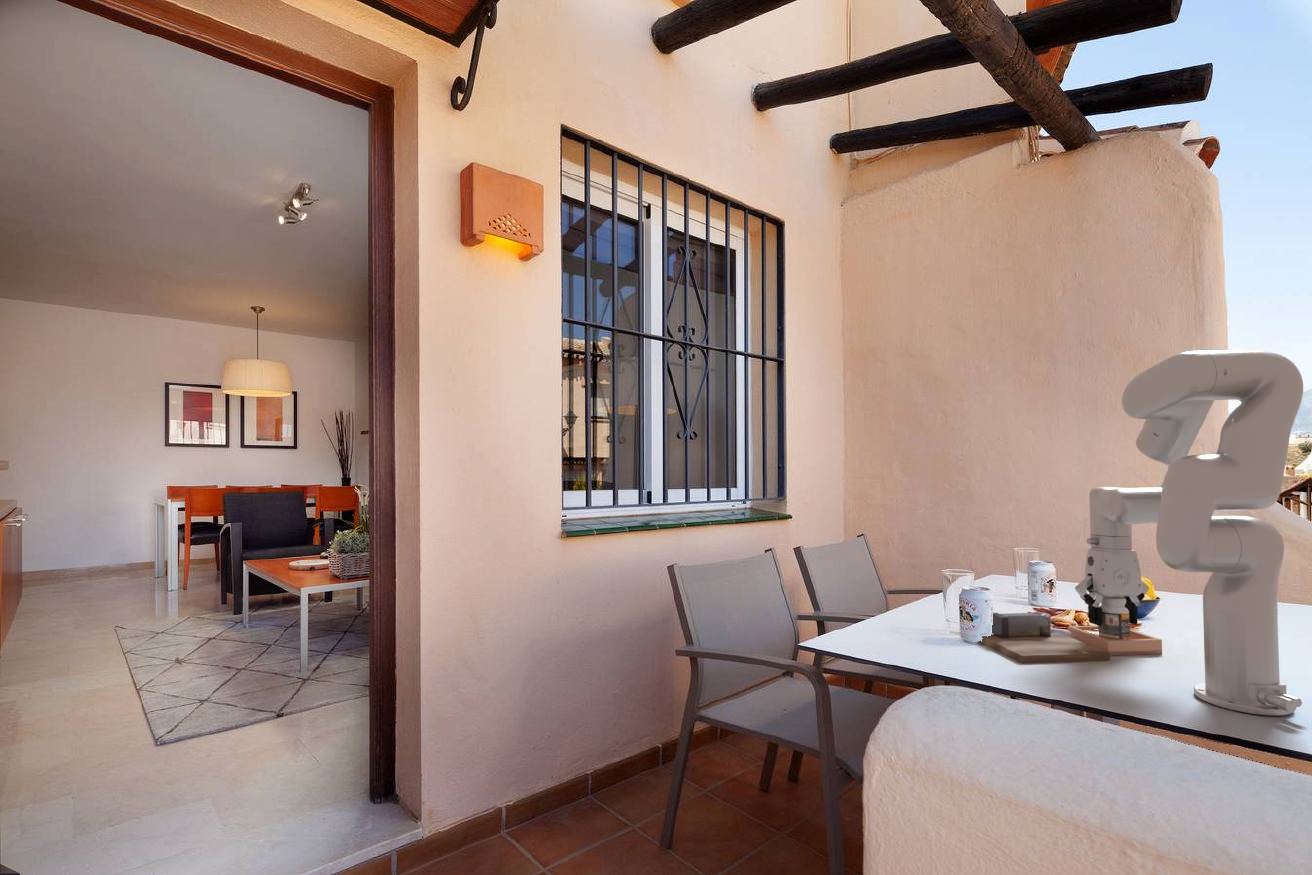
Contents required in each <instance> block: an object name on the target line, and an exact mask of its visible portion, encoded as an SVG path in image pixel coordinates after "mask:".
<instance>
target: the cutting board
mask: <svg viewBox="0 0 1312 875" xmlns="http://www.w3.org/2000/svg"><path fill="white" fill-rule="evenodd" d="M990 634H991V636H988V637H987V636H982V638H983V639H982V643H981V644H984V646H987V647H988V648H991V649H992V650H994V651H997V652H999V653H1001V654H1003V655H1005V656H1006V657H1009V658H1011V659H1013V660H1015V661H1016V662H1019V663H1021V664H1030V663H1032V664H1034V663H1035V664H1037V663H1039V664H1040V663H1041V664H1042V663H1043V664H1044V663H1069V662H1071V663H1073V662H1076V663H1077V662H1100V661H1101V662H1102V661H1103V662H1104V661H1105V662H1106V661H1111V656H1110V653H1109V652H1106V651H1104V650H1101V649H1099V648H1096V647H1094V646H1091V645H1089V644H1086V643H1084V642H1081V641H1078V640H1076V639H1073V638H1071V637H1068V635H1065V634H1063V633H1061V632H1051V636H1009V638H1001V637H999V636H997V635H994V634H992V633H990Z"/></svg>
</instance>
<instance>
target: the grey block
mask: <svg viewBox="0 0 1312 875" xmlns="http://www.w3.org/2000/svg"><path fill="white" fill-rule="evenodd" d="M992 613H993V625H992V633H991V634H994V635H997V636H999V637H1001V638H1009V636H1051V633H1052V619H1051V618H1052V615H1051V614H1050V613H1047V612H1044V611H1043V612H1042V611H1041V612H1039V611H1036V612H1035V611H1033V612H1018V613H1017V612H1014V613H1008V612H1007V613H999V612H992Z"/></svg>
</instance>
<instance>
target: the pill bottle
mask: <svg viewBox="0 0 1312 875" xmlns="http://www.w3.org/2000/svg"><path fill="white" fill-rule="evenodd" d="M1100 604H1101V605H1099V607H1101V608H1102V625H1101V626H1098V630H1099V636H1100V637H1103V638H1105V639H1108V640H1120V639H1130V629H1131V624H1130V619H1129V611H1128V609H1127V608H1125V604H1126V599H1125V598H1124V597H1123V596H1121V597H1105V596H1104V597H1103V599H1102V601H1101V603H1100Z"/></svg>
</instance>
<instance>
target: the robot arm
mask: <svg viewBox="0 0 1312 875" xmlns="http://www.w3.org/2000/svg"><path fill="white" fill-rule="evenodd" d="M1303 381H1304V380H1303V377H1302V374H1301V372H1300V370H1299V368H1298V367H1297V366H1296V365H1295V363H1294V362H1293V361H1292V360H1290V359H1289V358H1287V357H1286V356H1284V355H1282V354H1278V353H1276V352H1272V351H1271V352H1270V351H1264V350H1250V349H1242V350H1241V349H1231V350H1230V349H1229V350H1226V349H1225V350H1190V351H1189V350H1188V351H1185V352H1180V353H1175V354H1173V355H1171V356H1169V357H1168V358H1165V359H1163V360H1162V361H1160V362H1158V363H1156V364H1155V365H1153V366H1151V367H1149V368H1147V369H1145V370H1144V371H1142V372H1140V373H1139V374H1136V376H1134V377H1133V378H1132V379H1131V380H1130V381H1129V383H1127V385H1126V387H1125V388H1124V391H1123V392H1122V397H1121V406H1122V409H1123V411H1124V413H1125V414H1126V415H1127V416H1129V417H1131V418H1132V419H1137V420H1144V422H1143V425H1142V427H1141V428H1140V429H1141V430H1140V431H1139V432H1138V436H1137V437H1136V440H1135V446H1136V448H1137V450H1138V451H1139V452H1140V453H1142V454H1143V455H1144V456H1146V457H1147V458H1150V459H1152V460H1153V461H1155V462H1158V463H1161V464H1163V465H1166V466H1167V471H1166V473H1165V475H1164V478H1163V481H1162V483H1161V485H1160V487H1118V486H1096V487H1092V488H1091V490H1090V491H1089V526H1090V527H1089V529H1090V530H1089V532H1090V533H1089V535H1090V536H1089V537H1087V539H1086V544H1088V545H1090V548H1088V550H1087V554H1086V558H1085V567H1084V568H1085V570H1084V572H1085V573H1084V579H1083V580H1082V581H1081V582H1079V583H1078V584H1077V585H1075V587H1074V590H1075V592H1077V594H1078V595H1079V597H1080V599H1081V600H1082V601H1084V604H1086V605H1087V616H1088V622H1089V623H1091V624H1093V625H1094V626H1097V625H1098V626H1101V625H1102V608H1101V607H1099V606H1101V605H1100V604H1101V601H1102V599H1103V597H1104V596H1105V597H1124V598H1125V599H1126V604H1125V608H1127V609H1128V611H1129V619H1130V625H1135V626H1136V625H1138V607H1140V606H1141V602H1142V600H1144V599H1145V596H1146V594H1147V593H1148V591H1149V589H1150V586H1149V585H1148V584H1147V583H1146V582H1144V580H1143V581H1142V573H1141V566H1140V561H1139V558H1138V554H1137V551H1136V550H1135V549H1133V542H1132V541H1133V537H1132V525H1141V524H1148V525H1149V524H1156V525H1157V527H1156V538H1155V539H1156V540H1155V541H1156V542H1155V544H1156V549H1157V553H1158V555H1159V557H1160V559H1161V561H1162V562H1163V563H1164V564H1165V565H1166V566H1168V568H1171V569H1172V570H1174V571H1175V570H1176V571H1178V572H1185V573H1211V574H1210V576H1209V578H1208V580H1207V581H1206V583H1205V585H1204V590H1203V593H1202V614H1203V615H1202V616H1203V618H1202V619H1203V647H1204V648H1203V650H1204V651H1203V652H1204V680H1205V681H1204V682H1199V683H1197V684H1195V685H1194V686H1193V693H1194V695H1195V696H1196V697H1197V698H1199V699H1201V700H1202V701H1204V702H1207V703H1209V704H1212V705H1214V706H1217V707H1220V708H1224V709H1228V710H1231V711H1236V712H1240V713H1244V714H1245V713H1247V714H1251V715H1252V714H1253V715H1261V716H1274V717H1275V716H1278V717H1279V716H1280V717H1281V716H1287V715H1290V714H1293V712H1295V711H1296V710H1297V708H1300V707H1301V706H1302V704H1303V701H1302V699H1301V698H1298V697H1297V696H1296V697H1295V696H1293V695H1289V694H1287V684H1285V683H1282V682H1281V681H1280V655H1279V651H1280V650H1279V649H1280V648H1279V624H1278V623H1279V621H1278V620H1279V618H1278V615H1279V613H1278V610H1279V609H1278V590H1279V589H1278V587H1279V577H1280V572H1281V568H1282V565H1283V560H1284V554H1285V543H1284V539H1283V536H1282V535H1281V533H1280V531H1279V529H1277V528H1276V527H1275V526H1274V525H1272V524H1271V523H1270V522H1267V521H1266V520H1263V519H1260V518H1257V517H1252V516H1246V515H1214V512H1224V511H1225V512H1229V511H1232V512H1233V511H1234V512H1235V511H1259V510H1265V509H1268V508H1270V507H1272V506H1274V504H1276V502H1277V501H1278V499H1279V497H1280V494H1281V491H1282V486H1283V483H1284V482H1283V481H1284V476H1285V475H1284V474H1285V469H1286V462H1287V458H1288V451H1289V446H1290V438H1291V433H1292V429H1293V426H1294V422H1295V420H1296V417H1297V415H1298V412H1299V409H1300V406H1301V403H1302V399H1303V396H1304V395H1303V394H1304V382H1303ZM1226 400H1227V401H1229V400H1230V401H1232V400H1234V401H1235V400H1236V401H1237V400H1238V401H1240V402H1241V403H1240V404H1239V405H1238V406H1237V407H1236V408H1234V409H1233V411H1232V412H1231V413H1230V414H1229V415H1228V417H1227V418H1226V420H1225V421H1224V423H1223V425H1222V427H1221V429H1220V438H1219V442H1218V443H1219V444H1218V448H1217V450H1216V452H1215V453H1214V454H1191V455H1188V454H1189V452H1190V450H1191V448H1192V446H1193V444H1194V443H1195V440H1196V438H1197V436H1198V434H1199V432H1200V430H1201V428H1202V427H1203V424H1204V422H1205V420H1206V418H1207V416H1208V415H1209V412H1210V410H1211V408H1212V406H1213V404H1214V402H1215V401H1226Z"/></svg>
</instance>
